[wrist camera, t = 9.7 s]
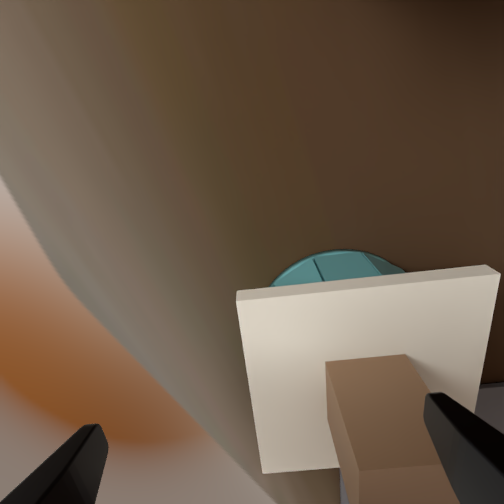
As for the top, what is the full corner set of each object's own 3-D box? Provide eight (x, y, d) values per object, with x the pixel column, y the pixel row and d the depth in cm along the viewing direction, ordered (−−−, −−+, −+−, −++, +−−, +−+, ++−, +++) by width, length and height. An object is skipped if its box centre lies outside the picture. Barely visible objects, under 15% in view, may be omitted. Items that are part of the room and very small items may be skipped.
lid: (485, 264, 15) (637, 355, 9) (455, 441, 20) (545, 580, 14) (236, 290, 16) (228, 393, 10) (262, 457, 20) (267, 599, 14)
